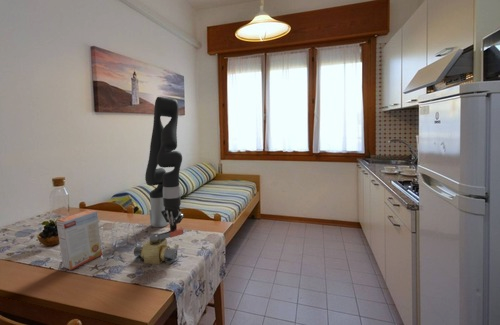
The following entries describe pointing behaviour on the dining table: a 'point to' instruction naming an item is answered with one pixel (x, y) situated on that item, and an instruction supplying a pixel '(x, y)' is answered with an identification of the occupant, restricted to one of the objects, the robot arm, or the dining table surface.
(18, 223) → the dining table surface
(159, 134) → the robot arm
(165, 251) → the valve pipe
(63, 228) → the cracker box
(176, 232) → the lever
